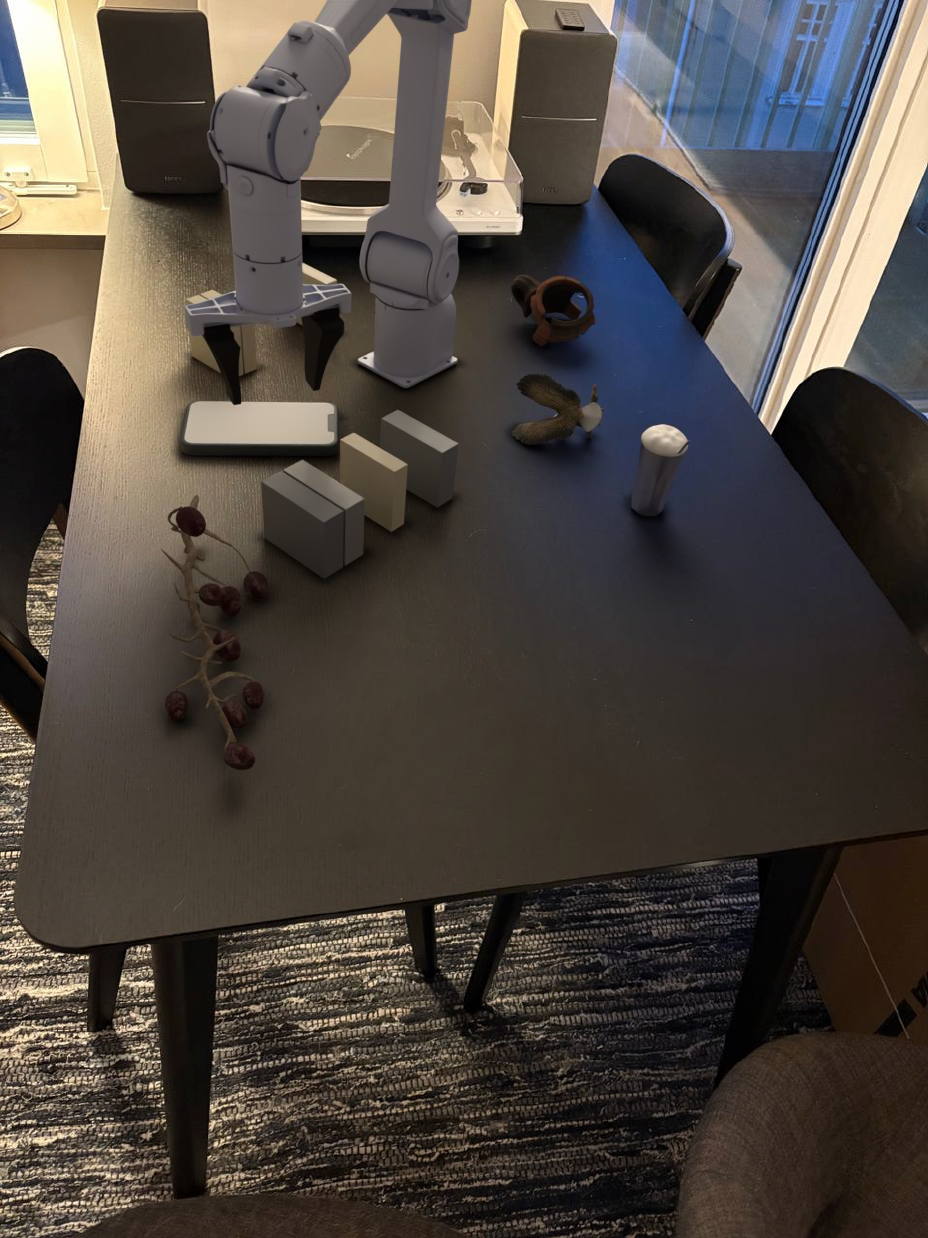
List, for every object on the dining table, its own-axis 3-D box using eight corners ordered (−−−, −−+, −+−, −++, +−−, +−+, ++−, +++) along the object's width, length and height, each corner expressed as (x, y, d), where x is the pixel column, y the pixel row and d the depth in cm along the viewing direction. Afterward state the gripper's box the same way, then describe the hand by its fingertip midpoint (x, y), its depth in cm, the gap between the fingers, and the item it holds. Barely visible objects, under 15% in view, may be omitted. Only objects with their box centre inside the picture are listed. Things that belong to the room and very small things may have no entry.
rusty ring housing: (599, 327, 128) (614, 290, 120) (563, 380, 126) (577, 346, 118) (521, 281, 129) (531, 242, 121) (485, 333, 126) (492, 296, 118)
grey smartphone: (180, 459, 98) (339, 459, 100) (178, 445, 97) (338, 446, 99) (188, 411, 105) (338, 413, 106) (187, 398, 103) (338, 400, 105)
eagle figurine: (581, 399, 111) (508, 387, 108) (610, 371, 105) (533, 357, 102) (582, 462, 109) (508, 451, 107) (612, 437, 103) (534, 425, 100)
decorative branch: (259, 732, 65) (139, 426, 79) (192, 804, 70) (90, 502, 84) (379, 732, 74) (252, 456, 88) (312, 796, 78) (201, 523, 92)
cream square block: (352, 491, 97) (353, 432, 92) (404, 524, 94) (408, 464, 89) (339, 499, 96) (339, 439, 91) (391, 532, 93) (394, 471, 88)
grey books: (394, 463, 101) (397, 409, 96) (452, 497, 97) (458, 443, 93) (264, 538, 90) (260, 481, 86) (324, 579, 87) (323, 522, 82)
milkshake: (645, 529, 97) (669, 445, 90) (615, 499, 100) (636, 415, 93) (681, 519, 98) (708, 436, 92) (651, 490, 102) (674, 407, 95)
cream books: (298, 313, 122) (296, 259, 117) (337, 334, 119) (337, 279, 114) (191, 355, 112) (185, 298, 108) (231, 379, 109) (226, 322, 105)
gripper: (195, 280, 76) (210, 429, 85) (366, 258, 81) (363, 400, 91) (170, 243, 80) (187, 388, 89) (334, 225, 86) (334, 363, 95)
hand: (274, 392), depth 90 cm, fingers open, 7 cm apart
